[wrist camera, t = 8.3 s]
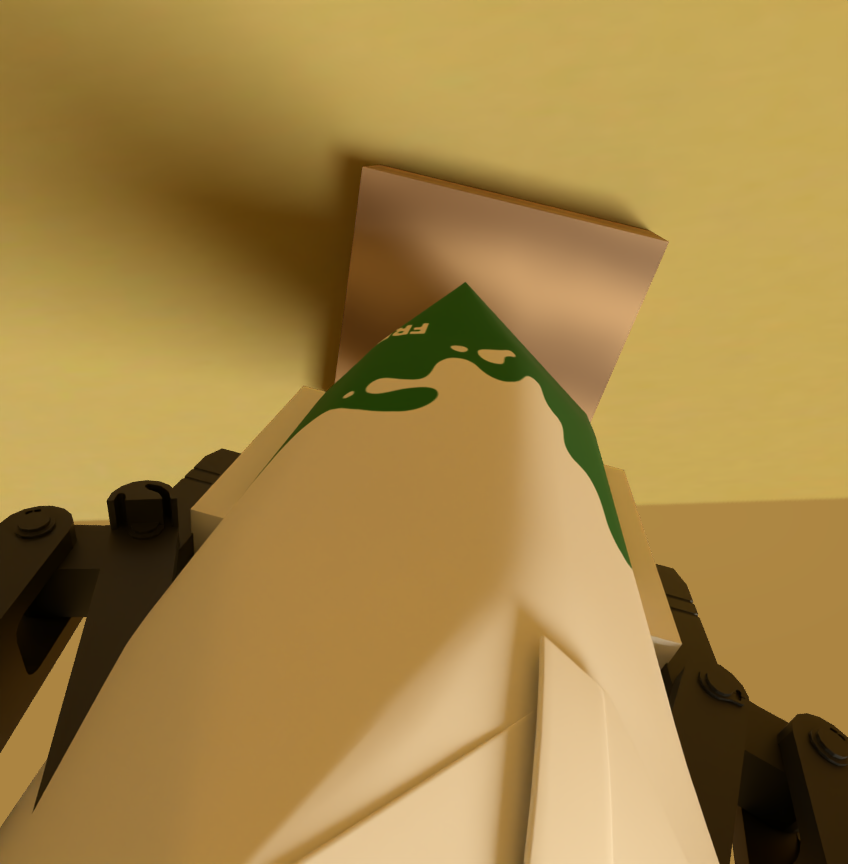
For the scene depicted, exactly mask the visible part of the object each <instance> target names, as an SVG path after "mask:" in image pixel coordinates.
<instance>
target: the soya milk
mask: <svg viewBox="0 0 848 864" xmlns="http://www.w3.org/2000/svg"><path fill="white" fill-rule="evenodd" d="M46 762H47V760H46V761H45V763H44V764H43V766H42V767H41V769H40V770H39V772H38V773H37V775H36V776H35V777H34V779H33V780H32V782H31V783H30V785H29V786H28V788H27V790H26V791H25V792H24V794H23V795H22V797H21V798H20V800H19V801H18V803H17V804H16V805H15V807H14V808H13V810H12V812H11V813H10V814H9V816H8V817H7V819H6V820H5V822H4V823H3V824H2V826H1V828H0V864H719V861H718V858H717V855H716V852H715V849H714V846H713V843H712V840H711V837H710V834H709V832H708V829H707V826H706V823H705V819H704V816H703V813H702V810H701V807H700V804H699V801H698V798H697V795H696V792H695V789H694V786H693V783H692V780H691V777H690V774H689V771H688V768H687V765H686V761H685V758H684V754H683V751H682V747H681V744H680V740H679V737H678V734H677V730H676V727H675V723H674V720H673V716H672V712H671V708H670V705H669V701H668V697H667V694H666V690H665V686H664V682H663V679H662V675H661V671H660V668H659V664H658V660H657V657H656V653H655V649H654V646H653V642H652V638H651V635H650V631H649V628H648V624H647V620H646V617H645V613H644V609H643V606H642V602H641V599H640V595H639V591H638V588H637V584H636V581H635V577H634V573H633V570H632V566H631V562H630V559H629V555H628V552H627V548H626V544H625V541H624V537H623V533H622V530H621V526H620V523H619V519H618V515H617V512H616V508H615V505H614V501H613V497H612V494H611V490H610V486H609V483H608V479H607V476H606V472H605V468H604V465H603V461H602V458H601V454H600V451H599V448H598V444H597V440H596V436H595V434H594V431H593V429H592V426H591V424H590V421H589V419H588V416H587V414H586V413H585V412H584V411H583V410H582V409H581V408H580V406H579V405H578V404H577V403H576V402H575V401H574V400H573V399H572V398H571V397H570V396H569V394H568V393H567V392H566V391H565V390H564V389H563V388H562V387H561V386H560V385H559V384H558V382H557V381H556V380H555V379H554V378H553V377H552V376H551V375H550V374H549V373H548V371H547V370H546V369H545V368H544V367H543V366H542V365H541V364H540V363H539V362H538V361H537V359H536V358H535V357H534V356H533V355H532V354H531V353H530V352H529V351H528V350H527V348H526V347H525V346H524V345H523V344H522V343H521V342H520V341H519V340H518V339H517V338H516V336H515V335H514V334H513V333H512V332H511V331H510V330H509V329H508V328H507V327H506V325H505V324H504V323H503V322H502V321H501V320H500V319H499V318H498V317H497V316H496V315H495V313H494V312H493V311H492V310H491V309H490V308H489V307H488V306H487V305H486V304H485V302H484V301H483V300H482V299H481V298H480V297H479V296H478V295H477V294H476V293H475V292H474V290H473V289H472V288H471V287H470V286H469V285H468V284H467V283H466V282H464V283H463V284H462V285H460V286H459V287H457V288H456V289H455V290H453V291H452V292H450V293H449V294H447V295H446V296H444V297H443V298H442V299H440V300H439V301H437V302H436V303H434V304H433V305H432V306H430V307H429V308H427V309H426V310H424V311H423V312H421V313H420V314H419V315H417V316H416V317H414V318H413V319H411V320H410V321H409V322H407V323H406V324H404V325H403V326H401V327H400V328H399V329H397V330H396V331H394V332H393V333H392V334H390V335H389V336H387V337H386V338H385V339H383V340H382V341H381V342H379V343H378V344H377V345H376V346H375V347H374V348H372V349H371V350H370V351H369V352H368V353H367V354H366V355H365V356H364V357H363V358H362V359H361V360H360V361H359V362H358V363H357V364H355V365H354V366H353V367H352V368H351V369H350V370H349V371H348V372H347V373H346V374H345V375H344V376H342V377H341V378H340V379H339V380H338V381H337V382H336V383H335V384H334V385H333V386H332V387H331V388H330V389H329V390H328V391H327V392H326V393H325V394H324V395H323V396H322V397H321V398H320V399H319V400H318V402H317V403H316V404H315V405H314V407H313V408H312V409H311V410H310V412H309V413H308V414H307V415H306V416H305V418H304V419H303V420H302V421H301V423H300V424H299V425H298V426H297V428H296V429H295V430H294V431H293V433H292V434H291V435H290V436H289V438H288V439H287V440H286V441H285V443H284V444H283V445H282V446H281V448H280V449H279V450H278V451H277V453H276V454H275V455H274V456H273V458H272V459H271V460H270V461H269V462H268V464H267V465H266V466H265V467H264V469H263V470H262V471H261V472H260V474H259V475H258V476H257V477H256V479H255V480H254V481H253V482H252V484H251V485H250V486H249V487H248V489H247V490H246V491H245V492H244V494H243V495H242V496H241V497H240V499H239V500H238V501H237V502H236V504H235V505H234V506H233V507H232V509H231V510H230V511H229V512H228V514H227V515H226V516H225V517H224V519H223V520H222V521H221V522H220V524H219V525H218V526H217V527H216V529H215V530H214V531H213V532H212V534H211V535H210V536H209V537H208V539H207V540H206V541H205V542H204V544H203V545H202V546H201V547H200V549H199V550H198V551H197V552H196V554H195V555H194V556H193V557H192V559H191V560H190V561H189V562H188V564H187V565H186V566H185V567H184V569H183V570H182V571H181V573H180V574H179V575H178V576H177V578H176V579H175V580H174V581H173V583H172V584H171V585H170V587H169V588H168V589H167V590H166V592H165V593H164V594H163V596H162V597H161V598H160V599H159V601H158V602H157V603H156V604H155V606H154V607H153V608H152V610H151V611H150V612H149V613H148V615H147V616H146V617H145V619H144V620H143V622H142V623H141V624H140V626H139V627H138V629H137V630H136V631H135V633H134V634H133V636H132V637H131V638H130V640H129V641H128V643H127V644H126V646H125V648H124V649H123V651H122V653H121V655H120V656H119V658H118V660H117V662H116V664H115V665H114V667H113V669H112V671H111V672H110V674H109V676H108V678H107V679H106V681H105V683H104V685H103V686H102V688H101V690H100V692H99V694H98V696H97V697H96V699H95V701H94V703H93V705H92V706H91V708H90V710H89V712H88V714H87V715H86V717H85V719H84V721H83V723H82V724H81V726H80V728H79V730H78V732H77V734H76V735H75V737H74V739H73V741H72V743H71V744H70V746H69V748H68V750H67V752H66V753H65V755H64V757H63V759H62V761H61V762H60V764H59V766H58V768H57V770H56V771H55V773H54V775H53V777H52V779H51V781H50V782H49V784H48V786H47V788H46V790H45V791H44V793H43V795H42V797H41V799H40V800H39V802H38V804H37V806H36V808H35V810H34V811H33V808H34V805H35V801H36V797H37V794H38V790H39V787H40V783H41V780H42V776H43V772H44V769H45V765H46ZM32 812H33V813H32Z"/></svg>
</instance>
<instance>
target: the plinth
mask: <svg viewBox="0 0 848 864" xmlns="http://www.w3.org/2000/svg"><path fill="white" fill-rule="evenodd" d="M668 243H669V242H668V241H666V240H665V239H663V238H661V237H660V236H658V235H656V234H655V233H653V232H651V231H649V230H645V229H641V228H637V227H633V226H628V225H624V224H620V223H616V222H612V221H608V220H604V219H600V218H596V217H592V216H588V215H584V214H580V213H575V212H571V211H567V210H563V209H559V208H555V207H551V206H547V205H543V204H539V203H535V202H531V201H527V200H522V199H518V198H514V197H510V196H506V195H502V194H498V193H494V192H490V191H486V190H482V189H478V188H474V187H469V186H465V185H461V184H457V183H453V182H449V181H445V180H441V179H437V178H433V177H429V176H425V175H421V174H416V173H412V172H408V171H404V170H400V169H396V168H392V167H388V166H384V165H374V166H364V167H362V174H361V182H360V190H359V198H358V206H357V213H356V221H355V229H354V237H353V245H352V252H351V260H350V268H349V276H348V284H347V291H346V299H345V307H344V315H343V323H342V330H341V338H340V346H339V354H338V362H337V369H336V377H335V383H336V382H337V381H338V380H339V379H340V378H341V377H342V376H344V375H345V374H346V373H347V372H348V371H349V370H350V369H351V368H352V367H353V366H354V365H355V364H357V363H358V362H359V361H360V360H361V359H362V358H363V357H364V356H365V355H366V354H367V353H368V352H369V351H370V350H371V349H372V348H374V347H375V346H376V345H377V344H378V343H379V342H381V341H382V340H383V339H385V338H386V337H387V336H389V335H390V334H392V333H393V332H394V331H396V330H397V329H399V328H400V327H401V326H403V325H404V324H406V323H407V322H409V321H410V320H411V319H413V318H414V317H416V316H417V315H419V314H420V313H421V312H423V311H424V310H426V309H427V308H429V307H430V306H432V305H433V304H434V303H436V302H437V301H439V300H440V299H442V298H443V297H444V296H446V295H447V294H449V293H450V292H452V291H453V290H455V289H456V288H457V287H459V286H460V285H462V284H463V283H464V282H466V283H467V284H468V285H469V286H470V287H471V288H472V289H473V290H474V292H475V293H476V294H477V295H478V296H479V297H480V298H481V299H482V300H483V301H484V302H485V304H486V305H487V306H488V307H489V308H490V309H491V310H492V311H493V312H494V313H495V315H496V316H497V317H498V318H499V319H500V320H501V321H502V322H503V323H504V324H505V325H506V327H507V328H508V329H509V330H510V331H511V332H512V333H513V334H514V335H515V336H516V338H517V339H518V340H519V341H520V342H521V343H522V344H523V345H524V346H525V347H526V348H527V350H528V351H529V352H530V353H531V354H532V355H533V356H534V357H535V358H536V359H537V361H538V362H539V363H540V364H541V365H542V366H543V367H544V368H545V369H546V370H547V371H548V373H549V374H550V375H551V376H552V377H553V378H554V379H555V380H556V381H557V382H558V384H559V385H560V386H561V387H562V388H563V389H564V390H565V391H566V392H567V393H568V394H569V396H570V397H571V398H572V399H573V400H574V401H575V402H576V403H577V404H578V405H579V406H580V408H581V409H582V410H583V411H584V412H585V413H586V414H587V416H588V419H589V421H590V422H591V420H592V418H593V415H594V413H595V411H596V408H597V406H598V404H599V401H600V399H601V397H602V395H603V392H604V390H605V388H606V385H607V383H608V381H609V378H610V376H611V374H612V372H613V369H614V367H615V365H616V362H617V360H618V358H619V355H620V353H621V351H622V349H623V346H624V344H625V342H626V339H627V337H628V335H629V332H630V330H631V328H632V326H633V323H634V321H635V319H636V316H637V314H638V312H639V309H640V307H641V305H642V303H643V300H644V298H645V296H646V293H647V291H648V289H649V287H650V284H651V282H652V280H653V277H654V275H655V273H656V270H657V268H658V266H659V264H660V261H661V259H662V257H663V254H664V252H665V250H666V247H667V245H668Z"/></svg>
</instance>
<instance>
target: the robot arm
mask: <svg viewBox="0 0 848 864" xmlns="http://www.w3.org/2000/svg"><path fill="white" fill-rule="evenodd" d="M325 393H326V392H325V391H321V390H318V389H314V388H310V387H306V386H303V387H302V388H301V389H300V390H299V391H298V392H297V394H296V395H295V396H294V397H293V398H292V399H291V400H290V401H289V402H288V403H287V404H286V406H285V407H284V408H283V409H282V410H281V411H280V412H279V413H278V414H277V415H276V416H275V418H274V419H273V420H272V421H271V422H270V423H269V424H268V425H267V426H266V427H265V428H264V430H263V431H262V432H261V433H260V434H259V435H258V436H257V437H256V438H255V439H254V440H253V442H252V443H251V444H250V445H249V446H248V447H247V448H246V449H245V450H244V451H243V452H242V454H241V453H237V452H233V451H230V450H226V449H220V450H218V451H216V452H214V453H211V454H209V455H207V456H205V457H204V458H203V459H202V460H201V461H200V462H199V463H198V464H197V465H196V466H195V467H194V469H192V470H191V471H190V472H189V473H188V474H187V475H186V476H185V478H183V479H181V480H180V481H179V482H178V483H177V484H176V485H175V486H174V487H173V488H172V487H171V486H170V485H168V484H165V483H162V482H160V481H149V480H145V481H138V482H132V483H129V484H127V485H124V486H121V487H120V488H118V489H117V490H115V491H114V492H112V493H111V495H110V496H109V498H108V499H107V506H108V513H109V519H110V525H105V526H101V525H98V526H97V525H74V522H73V518H72V515H71V513H69V512H68V511H67V510H65V509H63V508H59V507H55V506H37V507H33V508H28V509H24V510H22V511H19V512H17V513H15V514H12V515H10V516H9V517H8V518H6V519H5V520H4V521H2V522H1V523H0V753H1V751H2V749H3V748H4V746H5V745H6V743H7V741H8V740H9V738H10V736H11V735H12V733H13V731H14V729H15V728H16V726H17V725H18V723H19V721H20V720H21V718H22V717H23V715H24V713H25V712H26V710H27V708H28V707H29V705H30V703H31V702H32V700H33V699H34V697H35V695H36V694H37V692H38V690H39V689H40V687H41V686H42V684H43V682H44V681H45V679H46V677H47V676H48V674H49V672H50V671H51V669H52V668H53V666H54V664H55V663H56V661H57V659H58V658H59V656H60V654H61V652H62V651H63V649H64V648H65V646H66V644H67V643H68V641H69V640H70V638H71V636H72V635H73V633H74V631H75V630H76V628H77V627H78V625H79V623H80V622H81V620H82V618H83V617H87V618H86V622H85V625H84V629H83V633H82V636H81V640H80V643H79V647H78V651H77V654H76V658H75V662H74V665H73V668H72V672H71V676H70V679H69V683H68V686H67V690H66V693H65V697H64V701H63V704H62V708H61V712H60V715H59V719H58V722H57V726H56V729H55V733H54V737H53V740H52V744H51V747H50V751H49V755H48V758H47V762H46V765H45V769H44V772H43V776H42V780H41V783H40V787H39V790H38V794H37V797H36V801H35V805H34V808H33V811H34V810H35V808H36V806H37V804H38V802H39V800H40V799H41V797H42V795H43V793H44V791H45V790H46V788H47V786H48V784H49V782H50V781H51V779H52V777H53V775H54V773H55V771H56V770H57V768H58V766H59V764H60V762H61V761H62V759H63V757H64V755H65V753H66V752H67V750H68V748H69V746H70V744H71V743H72V741H73V739H74V737H75V735H76V734H77V732H78V730H79V728H80V726H81V724H82V723H83V721H84V719H85V717H86V715H87V714H88V712H89V710H90V708H91V706H92V705H93V703H94V701H95V699H96V697H97V696H98V694H99V692H100V690H101V688H102V686H103V685H104V683H105V681H106V679H107V678H108V676H109V674H110V672H111V671H112V669H113V667H114V665H115V664H116V662H117V660H118V658H119V656H120V655H121V653H122V651H123V649H124V648H125V646H126V644H127V643H128V641H129V640H130V638H131V637H132V636H133V634H134V633H135V631H136V630H137V629H138V627H139V626H140V624H141V623H142V622H143V620H144V619H145V617H146V616H147V615H148V613H149V612H150V611H151V610H152V608H153V607H154V606H155V604H156V603H157V602H158V601H159V599H160V598H161V597H162V596H163V594H164V593H165V592H166V590H167V589H168V588H169V587H170V585H171V584H172V583H173V581H174V580H175V579H176V578H177V576H178V575H179V574H180V573H181V571H182V570H183V569H184V567H185V566H186V565H187V564H188V562H189V561H190V560H191V559H192V557H193V556H194V555H195V554H196V552H197V551H198V550H199V549H200V547H201V546H202V545H203V544H204V542H205V541H206V540H207V539H208V537H209V536H210V535H211V534H212V532H213V531H214V530H215V529H216V527H217V526H218V525H219V524H220V522H221V521H222V520H223V519H224V517H225V516H226V515H227V514H228V512H229V511H230V510H231V509H232V507H233V506H234V505H235V504H236V502H237V501H238V500H239V499H240V497H241V496H242V495H243V494H244V492H245V491H246V490H247V489H248V487H249V486H250V485H251V484H252V482H253V481H254V480H255V479H256V477H257V476H258V475H259V474H260V472H261V471H262V470H263V469H264V467H265V466H266V465H267V464H268V462H269V461H270V460H271V459H272V458H273V456H274V455H275V454H276V453H277V451H278V450H279V449H280V448H281V446H282V445H283V444H284V443H285V441H286V440H287V439H288V438H289V436H290V435H291V434H292V433H293V431H294V430H295V429H296V428H297V426H298V425H299V424H300V423H301V421H302V420H303V419H304V418H305V416H306V415H307V414H308V413H309V412H310V410H311V409H312V408H313V407H314V405H315V404H316V403H317V402H318V400H319V399H320V398H321V397H322V396H323V395H324V394H325ZM604 468H605V472H606V476H607V479H608V483H609V486H610V490H611V494H612V497H613V501H614V505H615V508H616V512H617V515H618V519H619V523H620V526H621V530H622V533H623V537H624V541H625V544H626V548H627V552H628V555H629V559H630V562H631V566H632V570H633V573H634V577H635V581H636V584H637V588H638V591H639V595H640V599H641V602H642V606H643V609H644V613H645V617H646V620H647V624H648V628H649V631H650V635H651V638H652V642H653V646H654V649H655V653H656V657H657V660H658V664H659V668H660V671H661V675H662V679H663V682H664V686H665V690H666V694H667V697H668V701H669V705H670V708H671V712H672V716H673V720H674V723H675V727H676V730H677V734H678V737H679V740H680V744H681V747H682V751H683V754H684V758H685V761H686V765H687V768H688V771H689V774H690V777H691V780H692V783H693V786H694V789H695V792H696V795H697V798H698V801H699V804H700V807H701V810H702V813H703V816H704V819H705V823H706V826H707V829H708V832H709V834H710V837H711V840H712V843H713V846H714V849H715V852H716V855H717V858H718V861H719V864H730V857H731V849H732V844H733V852H734V860H735V864H848V737H847V736H846V735H844V734H843V733H842V732H841V731H839V730H838V729H837V728H836V727H835V726H834V725H832V724H830V723H829V722H826V721H825V720H823V719H822V718H820V717H817V716H814V715H811V714H807V713H806V714H797V715H796V716H795V717H794V718H793V719H792V720H791V721H790V722H789V723H788V722H786V721H784V720H782V719H781V718H778V717H776V716H775V715H773V714H771V713H769V712H767V711H765V710H764V709H762V708H760V707H758V706H757V705H755V704H754V703H752V702H750V701H749V697H748V695H747V693H746V691H745V689H744V687H743V686H742V685H741V683H740V682H739V681H738V680H737V679H736V678H735V677H734V676H733V675H732V674H731V673H730V672H729V671H727V670H726V669H724V668H723V667H722V666H721V665H718V664H717V662H716V659H715V656H714V654H713V651H712V649H711V646H710V644H709V641H708V638H707V636H706V633H705V631H704V628H703V626H702V623H701V621H700V618H699V617H698V613H697V610H696V608H695V605H694V604H693V603H692V602H693V600H692V598H691V595H690V592H689V590H688V587H687V585H686V583H685V582H684V581H683V580H682V579H681V577H680V576H679V575H678V574H677V572H676V571H675V570H674V569H673V568H669V567H665V566H661V565H658V564H655V562H654V559H653V556H652V553H651V550H650V547H649V544H648V541H647V538H646V535H645V532H644V529H643V526H642V523H641V520H640V517H639V514H638V511H637V508H636V505H635V502H634V499H633V496H632V493H631V490H630V487H629V484H628V481H627V478H626V475H625V472H624V470H622V469H619V468H615V467H611V466H607V465H604ZM32 813H33V812H32Z"/></svg>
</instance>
